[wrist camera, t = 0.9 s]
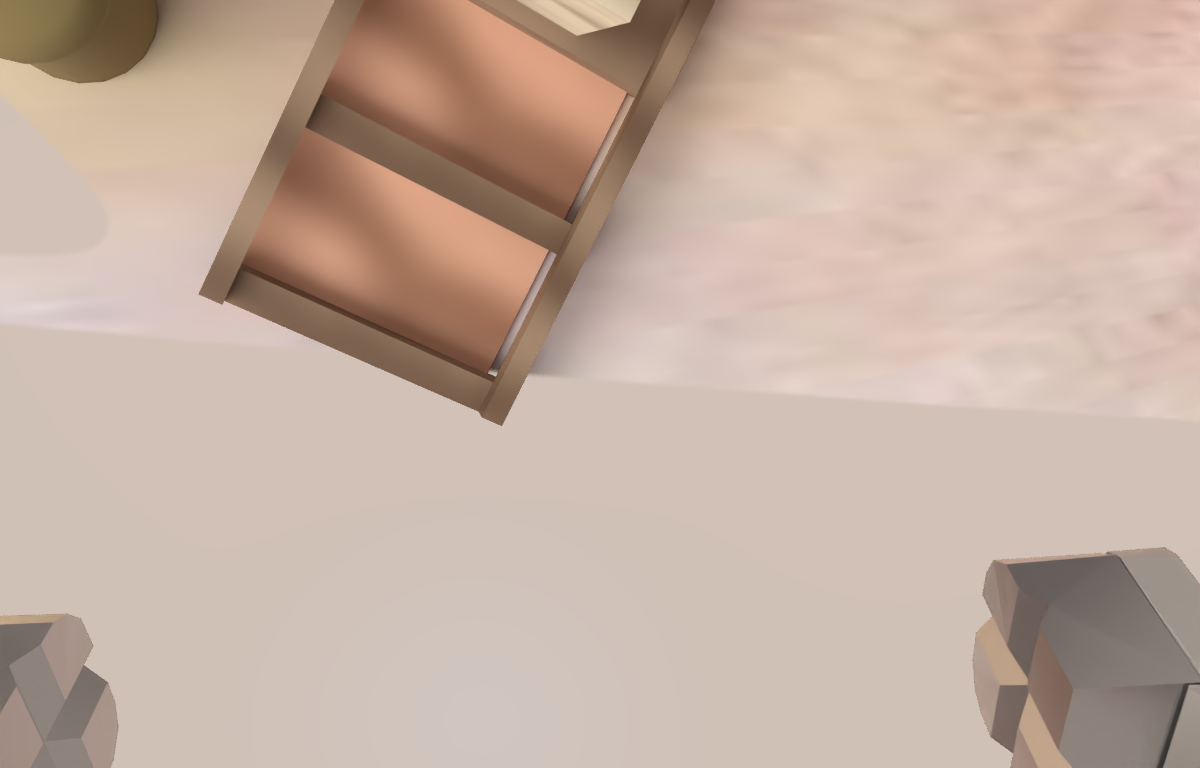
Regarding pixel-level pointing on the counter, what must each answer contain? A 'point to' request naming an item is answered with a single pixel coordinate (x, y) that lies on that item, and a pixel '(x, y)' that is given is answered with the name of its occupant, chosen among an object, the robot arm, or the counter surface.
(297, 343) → the counter surface
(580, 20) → the birch block
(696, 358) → the counter surface
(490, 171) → the trap box
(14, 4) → the cork
